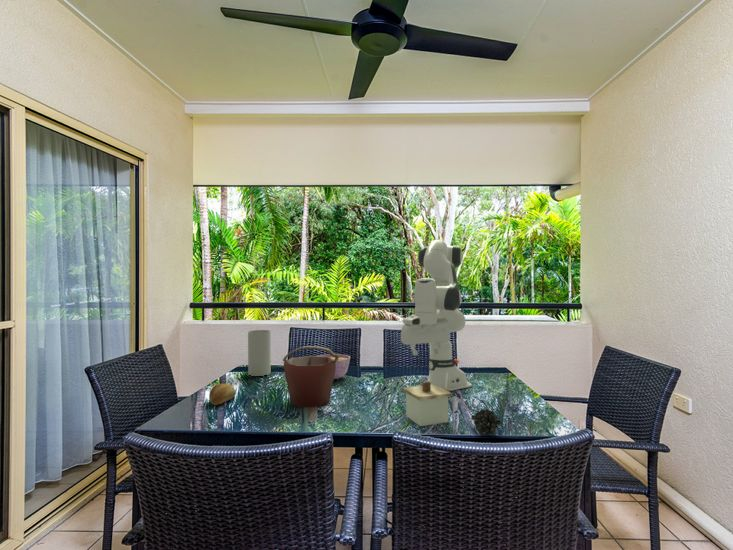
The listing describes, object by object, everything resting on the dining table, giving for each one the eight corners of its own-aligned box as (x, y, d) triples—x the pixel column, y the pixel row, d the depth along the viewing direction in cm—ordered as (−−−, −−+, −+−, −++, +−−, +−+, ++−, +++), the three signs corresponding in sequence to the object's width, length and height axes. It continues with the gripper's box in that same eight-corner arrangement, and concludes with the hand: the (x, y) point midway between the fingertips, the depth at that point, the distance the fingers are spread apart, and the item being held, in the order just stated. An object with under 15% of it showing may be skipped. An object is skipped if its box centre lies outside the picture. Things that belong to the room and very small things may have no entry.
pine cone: (470, 399, 156) (485, 410, 141) (490, 405, 157) (507, 417, 142) (463, 421, 156) (477, 435, 141) (483, 427, 156) (499, 442, 141)
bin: (432, 412, 169) (432, 388, 169) (448, 422, 157) (447, 395, 157) (406, 416, 164) (406, 391, 164) (420, 426, 153) (419, 399, 153)
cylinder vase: (267, 377, 231) (267, 332, 231) (245, 377, 231) (245, 332, 231) (272, 372, 243) (272, 329, 243) (251, 372, 243) (251, 330, 244)
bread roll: (203, 406, 179) (203, 388, 179) (220, 396, 194) (220, 379, 194) (224, 407, 178) (224, 389, 178) (239, 397, 192) (239, 380, 192)
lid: (433, 389, 170) (433, 376, 170) (451, 398, 157) (451, 384, 157) (402, 393, 165) (402, 379, 165) (418, 403, 152) (418, 388, 152)
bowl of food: (357, 376, 230) (357, 356, 230) (336, 384, 213) (336, 362, 214) (329, 372, 241) (329, 352, 241) (306, 379, 224) (306, 358, 224)
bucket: (345, 398, 190) (344, 343, 190) (324, 413, 169) (324, 352, 169) (297, 393, 198) (297, 341, 198) (273, 407, 177) (272, 349, 177)
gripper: (444, 317, 168) (444, 351, 167) (399, 319, 161) (399, 354, 161) (453, 318, 162) (453, 354, 162) (405, 321, 155) (406, 357, 155)
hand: (426, 354), depth 161 cm, fingers open, 8 cm apart
